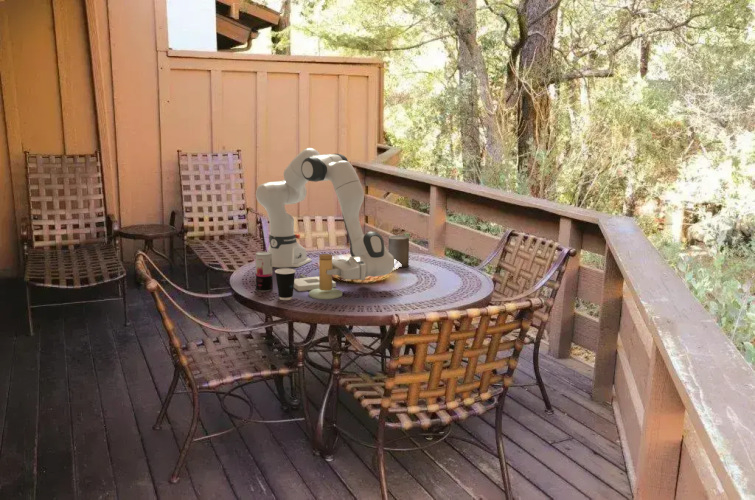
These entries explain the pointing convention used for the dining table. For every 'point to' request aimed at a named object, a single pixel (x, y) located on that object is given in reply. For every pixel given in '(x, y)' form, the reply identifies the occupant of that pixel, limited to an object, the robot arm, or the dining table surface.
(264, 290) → the beverage can
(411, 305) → the dining table surface
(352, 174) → the robot arm
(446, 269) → the dining table surface
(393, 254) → the pillar candle
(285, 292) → the dixie cup
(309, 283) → the socket block
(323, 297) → the mat
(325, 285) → the plug
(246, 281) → the dining table surface
